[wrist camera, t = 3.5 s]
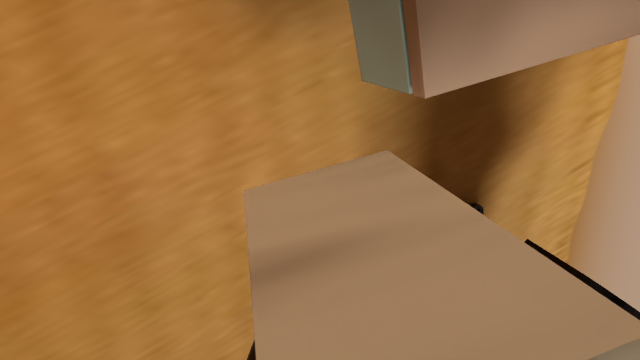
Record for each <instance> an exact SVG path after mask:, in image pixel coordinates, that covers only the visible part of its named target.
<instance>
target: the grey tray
mask: <svg viewBox="0 0 640 360" xmlns="http://www.w3.org/2000/svg"><path fill="white" fill-rule="evenodd" d="M349 5H350V11H351V17H352V23H353V29H354V35H355V41H356V46H357V52H358V58H359V64H360V70H361V76H362V81H365V82H368V83H372V84H375V85H379V86H382V87H386V88H389V89H393V90H396V91H400V92H403V93H407V94H412V84H411V75H410V66H409V57H408V48H407V39H406V30H405V21H404V11H403V2H402V0H349Z"/></svg>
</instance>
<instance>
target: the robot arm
mask: <svg viewBox="0 0 640 360" xmlns="http://www.w3.org/2000/svg"><path fill="white" fill-rule="evenodd" d="M470 206H471V207H473V208H474V209H477V211H478V212H480V213H481V214H483V215H484V213H483V207H482V206H481V205H479V204H477V203H474V204H471V205H470ZM524 243H526V244H527V245H529V246H530V247H532V248H533V249H535V250H536V251H538V252H539V253H541V254H542V255H544V256H545V257H547V258H548V259H549V260H551V261H552V262H554V263H555V264H557V265H558V266H560V267H561V268H563V269H564V270H566V271H567V272H569V273H570V274H572V275H573V276H575V277H576V278H578V279H579V280H581V281H582V282H584V283H585V284H586V285H588V286H589V287H591V288H592V289H594V290H595V291H597V292H598V293H600V294H601V295H603V296H604V297H606V298H607V299H609V300H610V301H612V302H613V303H615V304H616V305H618V306H619V307H621V308H622V309H623V310H625V311H626V312H628V313H629V314H631V315H632V316H634V317H635V318H637V319H638V320H640V312H639V311H637V310H636V309H634V308H633V307H631V306H630V305H628V304H627V303H626V302H624V301H623V300H621V299H620V298H618V297H617V296H615V295H614V294H613V293H611V292H609V291H608V290H606V289H605V288H604V287H602V286H601V285H599V284H598V283H596V282H595V281H593V280H592V279H590V278H589V277H587V276H585V275H584V274H582V273H581V272H579V271H578V270H576V269H574V268H573V267H571V266H570V265H568V264H567V263H565V262H563V261H562V260H560V259H559V258H557V257H555V256H554V255H552V254H551V253H549V252H547V251H546V250H544V249H543V248H541V247H539V246H538V245H536V244H535V243H533V242H531V241H530V240H528V239H527V240H526V241H525V242H524ZM247 360H256V351H255V339H254V342H253V345H252V347H251V350H250V353H249V355H248V358H247Z"/></svg>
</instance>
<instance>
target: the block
mask: <svg viewBox="0 0 640 360" xmlns="http://www.w3.org/2000/svg"><path fill="white" fill-rule="evenodd" d="M244 200H245V214H246V228H247V241H248V255H249V269H250V283H251V296H252V310H253V324H254V338H255V351H256V360H640V320H638V319H637V318H635V317H634V316H632V315H631V314H629V313H628V312H626V311H625V310H623V309H622V308H621V307H619V306H618V305H616V304H615V303H613V302H612V301H610V300H609V299H607V298H606V297H604V296H603V295H601V294H600V293H598V292H597V291H595V290H594V289H592V288H591V287H589V286H588V285H586V284H585V283H584V282H582V281H581V280H579V279H578V278H576V277H575V276H573V275H572V274H570V273H569V272H567V271H566V270H564V269H563V268H561V267H560V266H558V265H557V264H555V263H554V262H552V261H551V260H549V259H548V258H547V257H545V256H544V255H542V254H541V253H539V252H538V251H536V250H535V249H533V248H532V247H530V246H529V245H527V244H526V243H524V242H523V241H521V240H520V239H518V238H517V237H515V236H514V235H512V234H511V233H510V232H508V231H507V230H505V229H504V228H502V227H501V226H499V225H498V224H496V223H495V222H493V221H492V220H490V219H489V218H487V217H486V216H484V215H483V214H481V213H480V212H478V211H477V210H476V209H474V208H473V207H471V206H470V205H468V204H467V203H465V202H464V201H462V200H461V199H459V198H458V197H456V196H455V195H453V194H452V193H450V192H449V191H447V190H446V189H444V188H443V187H441V186H440V185H439V184H437V183H436V182H434V181H433V180H431V179H430V178H428V177H427V176H425V175H424V174H422V173H421V172H419V171H418V170H416V169H415V168H413V167H412V166H410V165H409V164H407V163H406V162H404V161H403V160H402V159H400V158H399V157H397V156H396V155H394V154H393V153H391V152H390V151H388V150H386V151H382V152H378V153H375V154H371V155H368V156H364V157H361V158H357V159H354V160H350V161H347V162H343V163H340V164H336V165H333V166H329V167H326V168H322V169H319V170H315V171H312V172H308V173H304V174H301V175H297V176H294V177H290V178H287V179H283V180H280V181H276V182H273V183H269V184H266V185H262V186H259V187H255V188H252V189H248V190H245V191H244Z"/></svg>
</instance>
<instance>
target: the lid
mask: <svg viewBox="0 0 640 360" xmlns="http://www.w3.org/2000/svg"><path fill="white" fill-rule="evenodd" d="M402 2H403V11H404V21H405V30H406V39H407V48H408V57H409V66H410V75H411V84H412V93H413V95H414V96H417V97H421V98H424V99H426V98H429V97H432V96H436V95H439V94H442V93H446V92H449V91H452V90H456V89H459V88H462V87H466V86H469V85H473V84H476V83H479V82H483V81H486V80H489V79H493V78H496V77H499V76H503V75H506V74H509V73H513V72H516V71H519V70H523V69H526V68H529V67H533V66H536V65H539V64H543V63H546V62H549V61H553V60H556V59H559V58H563V57H566V56H569V55H573V54H576V53H579V52H583V51H586V50H589V49H593V48H596V47H599V46H603V45H606V44H609V43H613V42H616V41H619V40H623V39H626V38H629V37H632V36H636V35H639V34H640V0H402Z"/></svg>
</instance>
